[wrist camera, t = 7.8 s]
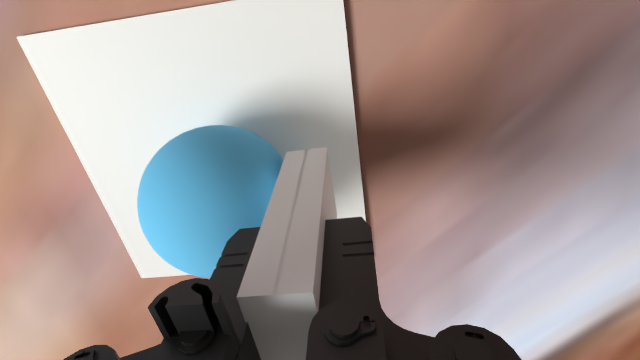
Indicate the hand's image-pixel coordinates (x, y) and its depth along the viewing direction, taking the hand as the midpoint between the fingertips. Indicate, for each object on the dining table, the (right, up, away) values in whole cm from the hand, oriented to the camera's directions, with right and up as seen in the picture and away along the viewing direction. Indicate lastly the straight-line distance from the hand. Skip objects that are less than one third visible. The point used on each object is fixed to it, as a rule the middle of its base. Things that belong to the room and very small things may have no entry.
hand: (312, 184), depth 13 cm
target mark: (-4, +1, +3) cm, 5 cm away
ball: (-3, -1, 0) cm, 3 cm away
